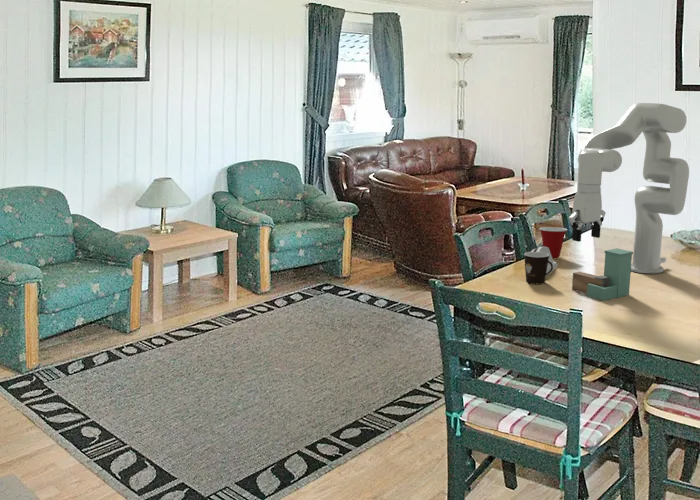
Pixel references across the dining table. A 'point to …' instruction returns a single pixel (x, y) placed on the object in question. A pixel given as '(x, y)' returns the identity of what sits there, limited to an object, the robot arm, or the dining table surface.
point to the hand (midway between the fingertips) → (586, 238)
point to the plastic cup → (553, 239)
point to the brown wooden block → (588, 281)
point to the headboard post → (614, 275)
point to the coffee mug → (536, 267)
